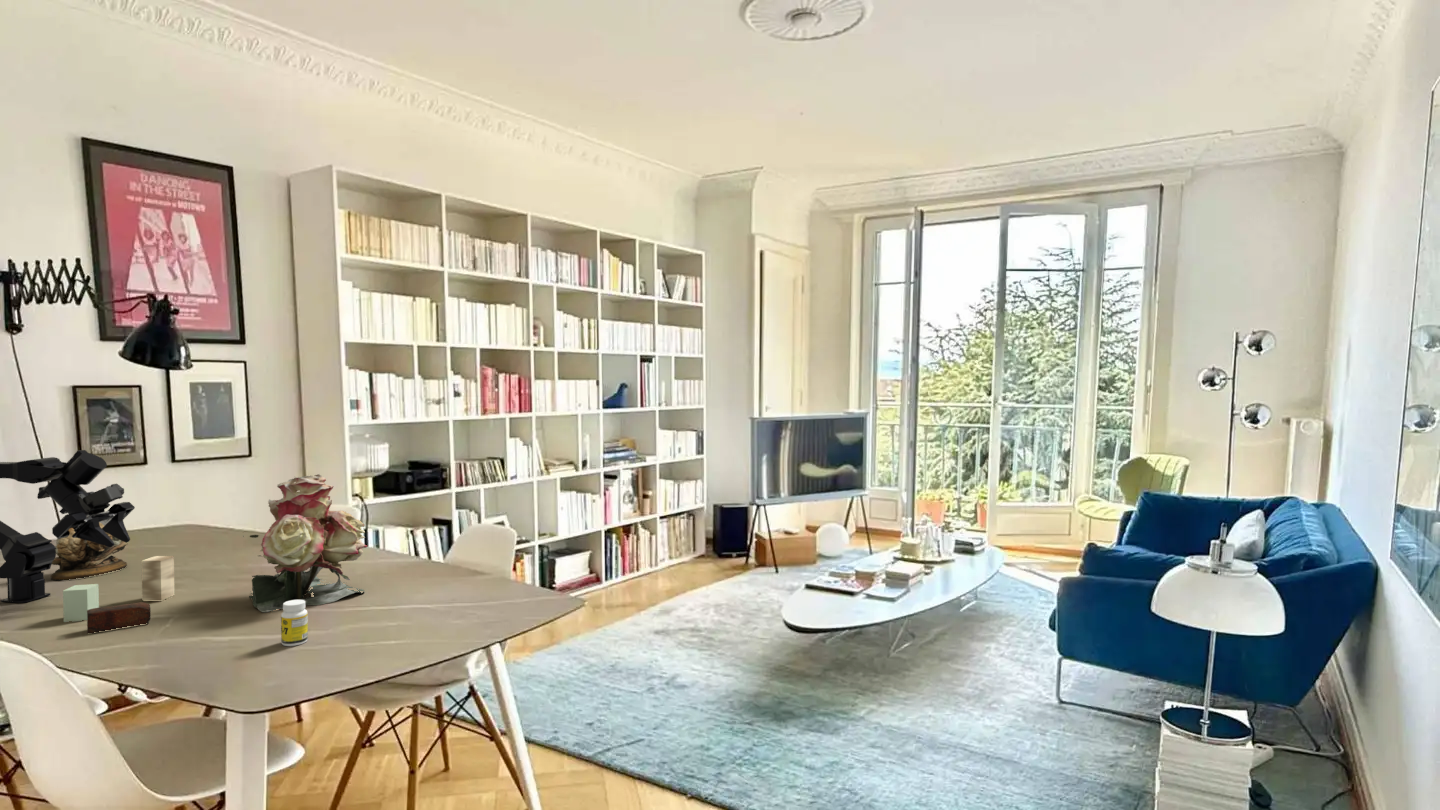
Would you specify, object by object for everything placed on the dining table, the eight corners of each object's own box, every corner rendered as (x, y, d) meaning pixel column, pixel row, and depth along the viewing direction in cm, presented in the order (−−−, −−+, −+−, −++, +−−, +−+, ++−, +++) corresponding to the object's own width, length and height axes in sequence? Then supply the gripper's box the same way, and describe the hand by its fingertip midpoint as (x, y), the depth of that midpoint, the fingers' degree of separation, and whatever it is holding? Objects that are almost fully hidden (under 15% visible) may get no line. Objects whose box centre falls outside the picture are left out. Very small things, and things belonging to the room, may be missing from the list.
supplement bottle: (278, 642, 152) (278, 602, 152) (303, 636, 156) (303, 597, 155) (285, 648, 149) (284, 607, 148) (310, 642, 152) (310, 602, 152)
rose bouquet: (260, 619, 166) (258, 487, 165) (242, 590, 189) (240, 473, 188) (381, 598, 183) (380, 477, 181) (351, 573, 205) (350, 466, 204)
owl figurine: (112, 563, 214) (111, 504, 214) (141, 567, 211) (140, 507, 210) (38, 578, 197) (38, 515, 196) (68, 583, 193) (68, 518, 193)
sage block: (63, 622, 163) (62, 590, 163) (75, 615, 168) (74, 585, 167) (87, 620, 165) (87, 589, 164) (99, 614, 169) (98, 583, 169)
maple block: (142, 601, 178) (141, 560, 178) (155, 596, 183) (155, 556, 182) (161, 601, 178) (160, 560, 178) (174, 596, 183) (173, 556, 183)
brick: (87, 635, 156) (86, 613, 155) (87, 630, 159) (87, 608, 158) (150, 625, 162) (150, 604, 162) (149, 620, 165) (149, 599, 165)
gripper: (63, 480, 170) (114, 528, 170) (126, 470, 188) (171, 513, 189) (29, 514, 170) (80, 562, 170) (95, 500, 188) (140, 543, 189)
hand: (120, 543), depth 180 cm, fingers open, 5 cm apart
